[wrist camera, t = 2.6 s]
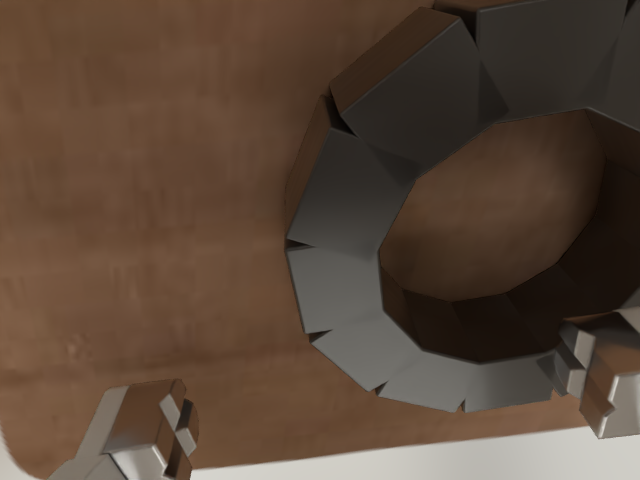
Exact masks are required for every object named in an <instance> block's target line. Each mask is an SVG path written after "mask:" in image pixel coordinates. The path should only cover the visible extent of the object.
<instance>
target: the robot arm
mask: <svg viewBox="0 0 640 480" xmlns="http://www.w3.org/2000/svg"><path fill="white" fill-rule="evenodd" d="M558 333H559V335H560V336H561V338H562V339H563V340H562V341H561V342H560V343H559V344H558V345H557V346H556V347H555V352H554V363H555V368H556V373H557V375H558V377H559V379H560V382H561V383H562V385H563V386H564V388H565V390H566V391H567V392H568V393H570V394H571V395H573V396H575V397H576V398H578V399H580V400H581V401H580V408H579V411H580V412H581V414H582V415H583V417H584V418H585V420H586V421H587V423H588V424H589V426H590V427H591V429H592V430H593V432H594V433H595V435H596V436H597V438H598V439H604V438H613V437H622V436H630V435H638V434H640V307H639V306H636V307H629V308H623V309H617V310H612V311H604V312H598V313H592V314H586V315H580V316H574V317H568V318H563V319H562V321H561V322H560V323H559V328H558ZM186 390H187V389H186V387H185V385H184V383H183V382H182V380H181V379H169V380H161V381H153V382H146V383H138V384H132V385H126V386H118V387H110V388H109V389H108V390H107V391H106V392H105V393H104V394H103V396H102V398H101V400H100V402H99V405H98V407H97V409H96V411H95V413H94V416H93V418H92V420H91V422H90V425H89V427H88V429H87V431H86V433H85V436H84V438H83V440H82V442H81V444H80V447H79V449H78V451H77V453H76V455H75V458H74V459H70V460H66V461H65V462H64V463H63V464H62V465H61V466H60V467H59V468H58V469H57V470H56V471H55V472H54V473H52V474H51V475H50V476H49V477H48V478H47V479H46V480H190V476H191V471H192V466H191V464H190V462H189V460H188V457H189V455H190V454H191V453H192V452H193V451H194V449H195V448H196V446H197V441H198V435H199V420H198V415H197V411H196V408H195V406H194V404H193V403H192V402H191V401H189V400H187V399H185V394H186Z"/></svg>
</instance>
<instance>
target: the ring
mask: <svg viewBox="0 0 640 480" xmlns="http://www.w3.org/2000/svg"><path fill="white" fill-rule="evenodd" d="M329 87H330V89H331V92H332V95H333V98H334V99H333V98H330V97H328V96H325V95H321V96H320V98H319V100H318V103H317V106H316V108H315V111H314V113H313V116H312V119H311V121H310V124H309V127H308V129H307V132H306V135H305V137H304V140H303V143H302V145H301V148H300V150H299V153H298V156H297V158H296V161H295V164H294V166H293V169H292V172H291V174H290V177H289V179H288V182H287V185H286V199H285V231H284V252H285V256H286V260H287V264H288V269H289V273H290V277H291V282H292V286H293V290H294V294H295V299H296V303H297V307H298V312H299V316H300V320H301V324H302V329H303V332H304V333H305V334H309V342H310V343H311V344H312V345H313V346H314V347H315V348H316V349H318V350H319V351H320V352H321V353H322V354H323V355H325V356H326V357H327V358H328V359H329V360H330V361H332V362H333V363H334V364H335V365H336V366H337V367H339V368H340V369H341V370H342V371H343V372H344V373H346V374H347V375H348V376H349V377H350V378H351V379H353V380H354V381H355V382H356V383H357V384H358V385H360V386H361V387H362V388H363V389H364V390H365V391H367V392H370V391H371V390H373V389H375V393H376V396H378V397H382V398H387V399H392V400H396V401H401V402H406V403H410V404H415V405H419V406H424V407H429V408H433V409H438V410H442V411H447V412H452V413H453V412H455V411H456V410H457V409H458V408H459V406H460V405H461V408H462V410H463V412H464V413H469V412H475V411H482V410H489V409H495V408H502V407H508V406H515V405H522V404H528V403H535V402H542V401H548V400H550V399H551V395H552V390H553V388H554V390H555V391H556V392H557V394H558V395H559V396H561V397H562V396H564V395H566V394H569V393H568V392H567V391H566V390H565V388H564V386H563V385H562V383H561V382H560V379H559V377H558V375H557V373H556V368H555V363H554V352H555V347H556V346H557V345H558V344H559V343H560V342H561V341H562V340H563V339H562V338H561V336H560V335H559V333H558V328H559V323H560V322H561V321H562V319H563V318H568V317H574V316H580V315H586V314H592V313H598V312H604V311H612V310H617V309H623V308H629V307H636V306H639V307H640V0H435V3H434V10H433V9H429V8H425V7H419V8H418V9H417V10H416V11H414V12H413V13H412V14H411V15H410V16H409V17H407V18H406V19H405V20H404V21H403V22H401V23H400V24H399V25H398V26H397V27H395V28H394V29H393V30H392V31H391V32H389V33H388V34H387V35H386V36H385V37H384V38H382V39H381V40H380V41H379V42H378V43H376V44H375V45H374V46H373V47H372V48H370V49H369V50H368V51H367V52H366V53H364V54H363V55H362V56H361V57H360V58H359V59H357V60H356V61H355V62H354V63H353V64H351V65H350V66H349V67H348V68H347V69H345V70H344V71H343V72H342V73H341V74H339V75H338V76H337V77H336V78H335V79H334V80H332V81H331V82H330V83H329ZM582 109H585V111H586V113H587V115H588V117H589V120H590V122H591V124H592V126H593V128H594V131H595V133H596V135H597V137H598V139H599V141H600V144H601V146H602V148H603V150H604V152H605V154H606V157H607V163H606V168H605V172H604V177H603V182H602V187H601V192H600V197H599V201H598V206H597V211H596V215H595V217H594V218H593V219H592V220H591V222H590V223H589V224H588V226H587V227H586V228H585V229H584V231H583V232H582V233H581V234H580V236H579V237H578V238H577V239H576V241H575V242H574V243H573V245H572V246H571V247H570V248H569V250H568V251H567V252H566V253H565V255H564V256H563V257H562V259H561V260H560V261H559V262H558V264H556V265H554V266H553V267H551V268H549V269H548V270H546V271H544V272H542V273H541V274H539V275H537V276H536V277H534V278H532V279H530V280H529V281H527V282H525V283H524V284H522V285H520V286H518V287H517V288H515V289H513V290H511V291H510V292H508V293H506V294H504V295H497V296H491V297H485V298H478V299H472V300H466V301H459V302H453V303H449V302H445V301H442V300H438V299H435V298H431V297H428V296H424V295H421V294H417V293H414V292H410V291H407V290H403V289H401V288H400V287H399V286H398V284H397V283H396V282H395V281H394V280H393V279H392V278H391V277H390V276H389V275H388V273H387V272H386V271H385V270H384V269H383V268H382V267H381V263H380V252H379V248H380V247H381V245H382V243H383V241H384V239H385V237H386V235H387V234H388V232H389V230H390V228H391V226H392V224H393V222H394V220H395V219H396V217H397V215H398V213H399V211H400V209H401V207H402V205H403V204H404V202H405V200H406V198H407V196H408V194H409V192H410V191H411V189H412V187H413V185H414V183H415V181H416V180H417V179H418V178H419V177H421V176H422V175H424V174H425V173H426V172H428V171H429V170H431V169H432V168H433V167H435V166H436V165H438V164H439V163H441V162H442V161H443V160H445V159H446V158H448V157H449V156H450V155H452V154H453V153H455V152H456V151H457V150H459V149H460V148H462V147H463V146H464V145H466V144H467V143H469V142H470V141H472V140H473V139H474V138H476V137H477V136H479V135H480V134H481V133H483V132H484V131H486V130H487V129H488V128H490V127H491V126H493V125H494V124H498V123H504V122H510V121H516V120H522V119H528V118H534V117H540V116H546V115H552V114H558V113H564V112H570V111H576V110H582Z"/></svg>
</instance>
